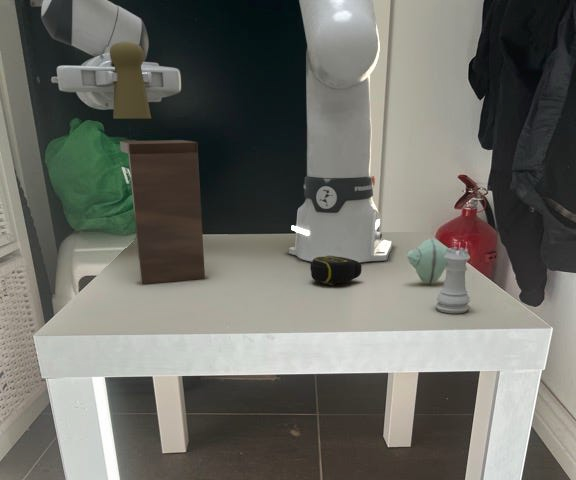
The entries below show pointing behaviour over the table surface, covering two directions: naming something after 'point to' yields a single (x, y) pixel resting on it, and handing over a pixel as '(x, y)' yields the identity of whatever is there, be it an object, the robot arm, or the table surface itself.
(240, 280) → the table surface
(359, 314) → the table surface
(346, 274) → the tape measure
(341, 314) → the table surface
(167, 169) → the shelf stand
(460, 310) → the rook chess piece
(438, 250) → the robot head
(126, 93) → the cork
